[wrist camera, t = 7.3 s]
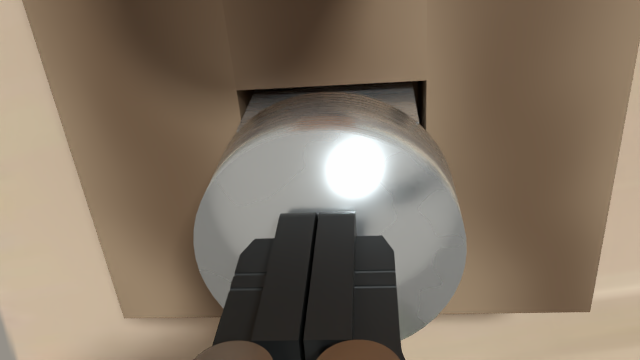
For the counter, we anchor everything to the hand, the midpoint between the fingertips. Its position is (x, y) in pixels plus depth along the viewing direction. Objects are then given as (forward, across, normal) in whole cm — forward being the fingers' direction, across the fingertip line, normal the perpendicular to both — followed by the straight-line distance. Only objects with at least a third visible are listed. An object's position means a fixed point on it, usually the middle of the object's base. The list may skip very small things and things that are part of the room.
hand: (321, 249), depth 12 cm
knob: (+6, 0, 0) cm, 6 cm away
